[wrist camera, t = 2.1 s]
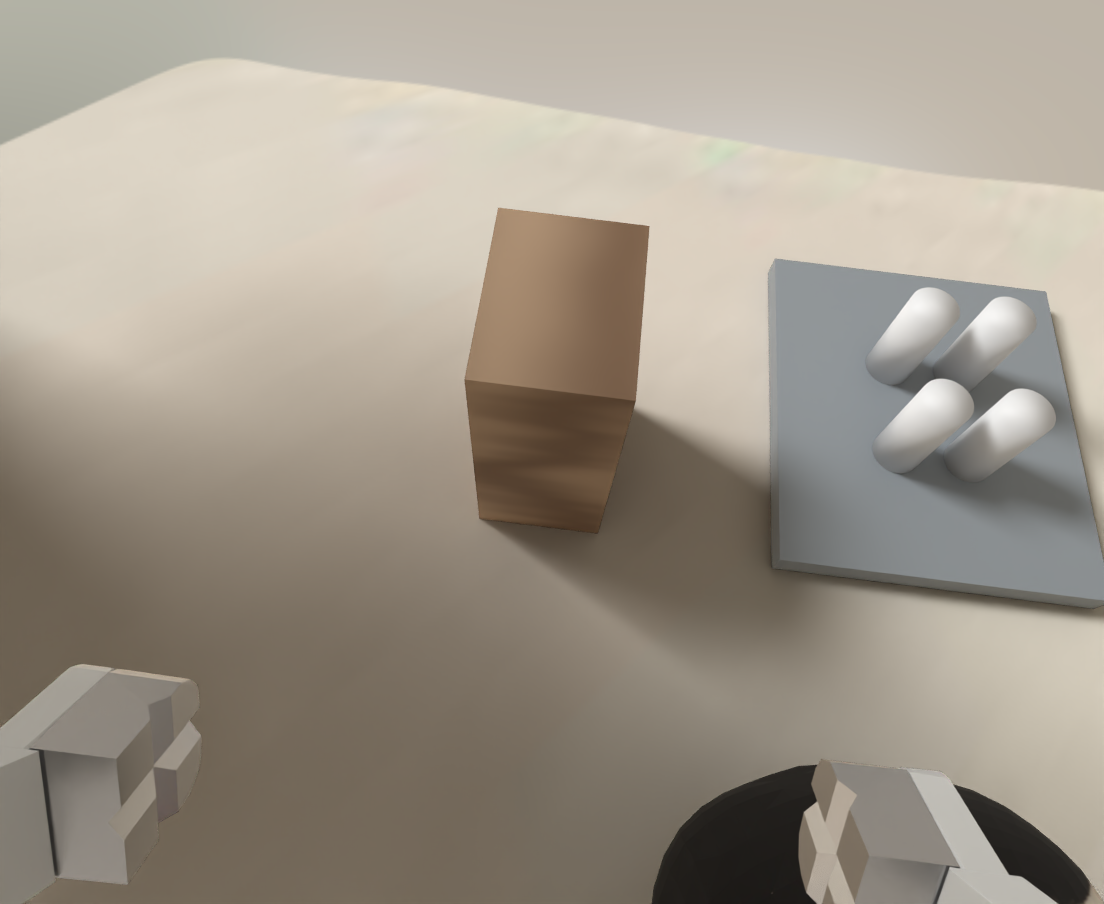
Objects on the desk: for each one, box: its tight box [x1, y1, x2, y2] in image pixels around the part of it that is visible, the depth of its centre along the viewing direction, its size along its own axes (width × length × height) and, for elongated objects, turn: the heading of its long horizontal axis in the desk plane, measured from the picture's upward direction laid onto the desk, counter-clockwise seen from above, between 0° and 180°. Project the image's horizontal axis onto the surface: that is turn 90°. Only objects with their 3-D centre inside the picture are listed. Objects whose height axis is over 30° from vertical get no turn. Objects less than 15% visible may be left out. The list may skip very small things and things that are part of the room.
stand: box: [768, 259, 1104, 609], centre depth 29 cm, size 12×14×5 cm
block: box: [465, 208, 649, 533], centre depth 26 cm, size 4×6×10 cm
